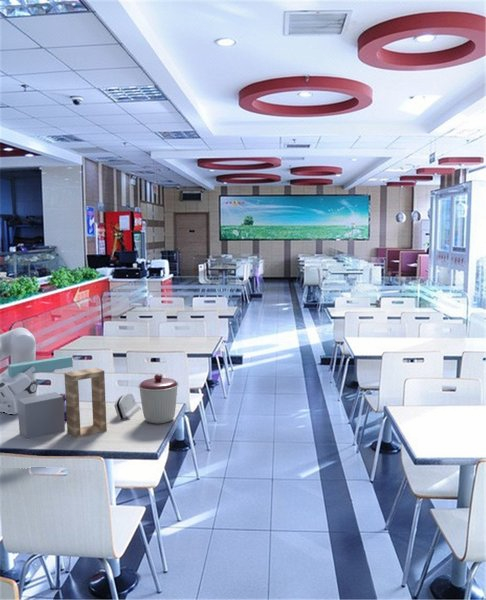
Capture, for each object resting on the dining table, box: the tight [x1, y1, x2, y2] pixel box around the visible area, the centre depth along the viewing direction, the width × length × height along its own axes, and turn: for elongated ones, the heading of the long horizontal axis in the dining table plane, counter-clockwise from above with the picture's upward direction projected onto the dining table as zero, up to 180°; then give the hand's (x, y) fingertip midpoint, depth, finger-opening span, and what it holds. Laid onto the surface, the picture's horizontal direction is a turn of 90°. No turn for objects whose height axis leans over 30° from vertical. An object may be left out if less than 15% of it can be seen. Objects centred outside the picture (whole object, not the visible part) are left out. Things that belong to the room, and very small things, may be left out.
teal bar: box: [7, 355, 74, 377], centre depth 218 cm, size 24×4×4 cm, turn 130°
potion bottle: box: [59, 393, 67, 422], centre depth 248 cm, size 9×9×12 cm
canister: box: [137, 373, 180, 425], centre depth 246 cm, size 18×18×21 cm
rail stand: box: [63, 367, 108, 439], centre depth 232 cm, size 14×8×26 cm, turn 130°
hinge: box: [114, 393, 142, 420], centre depth 257 cm, size 17×5×10 cm, turn 172°
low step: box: [17, 391, 66, 441], centre depth 232 cm, size 16×9×15 cm, turn 130°
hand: (31, 366), depth 216 cm, fingers closed on teal bar, 4 cm apart
